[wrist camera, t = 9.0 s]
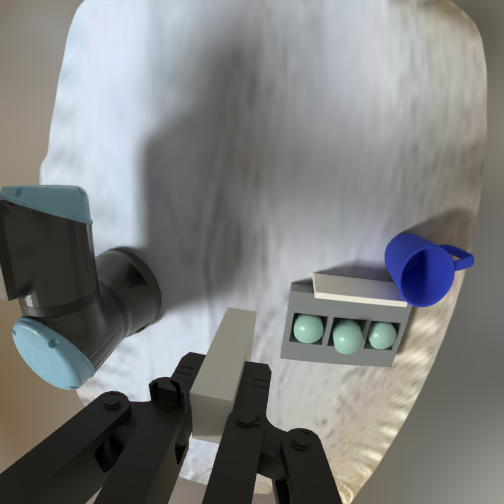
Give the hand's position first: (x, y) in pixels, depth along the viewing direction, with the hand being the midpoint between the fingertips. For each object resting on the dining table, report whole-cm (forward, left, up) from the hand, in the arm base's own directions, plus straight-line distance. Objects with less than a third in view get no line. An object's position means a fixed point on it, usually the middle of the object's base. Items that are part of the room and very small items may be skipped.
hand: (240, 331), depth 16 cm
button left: (+7, -15, -29) cm, 33 cm away
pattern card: (+13, -7, -29) cm, 33 cm away
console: (+13, -15, -29) cm, 35 cm away
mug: (+22, -2, -30) cm, 37 cm away
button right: (+19, -15, -29) cm, 38 cm away
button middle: (+13, -15, -27) cm, 33 cm away
